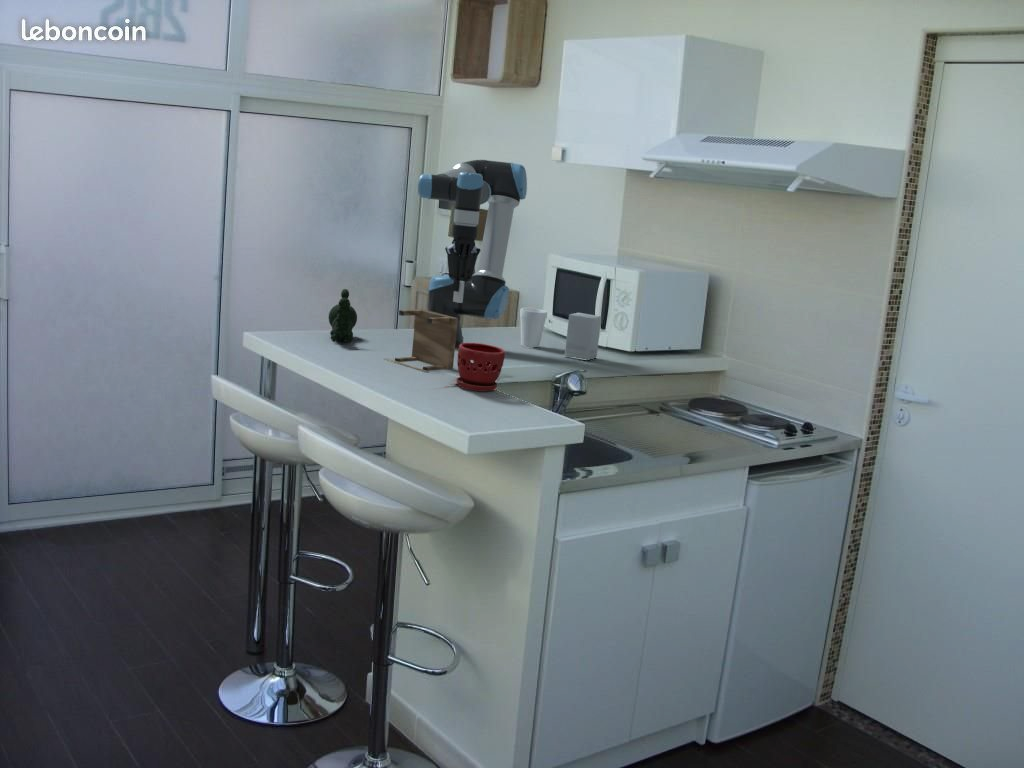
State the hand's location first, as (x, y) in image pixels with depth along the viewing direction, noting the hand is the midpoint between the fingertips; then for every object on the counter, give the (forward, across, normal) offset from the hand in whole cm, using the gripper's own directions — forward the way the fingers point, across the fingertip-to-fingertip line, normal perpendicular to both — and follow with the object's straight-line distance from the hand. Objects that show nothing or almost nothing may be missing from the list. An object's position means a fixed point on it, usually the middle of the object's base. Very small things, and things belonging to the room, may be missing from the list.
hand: (457, 302), depth 337 cm
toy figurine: (+20, +8, -44) cm, 49 cm away
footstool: (+19, +12, 0) cm, 23 cm away
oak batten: (+20, +18, 0) cm, 27 cm away
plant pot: (+20, +15, +27) cm, 37 cm away
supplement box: (+20, -57, +5) cm, 60 cm away
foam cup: (+19, -54, -16) cm, 59 cm away
